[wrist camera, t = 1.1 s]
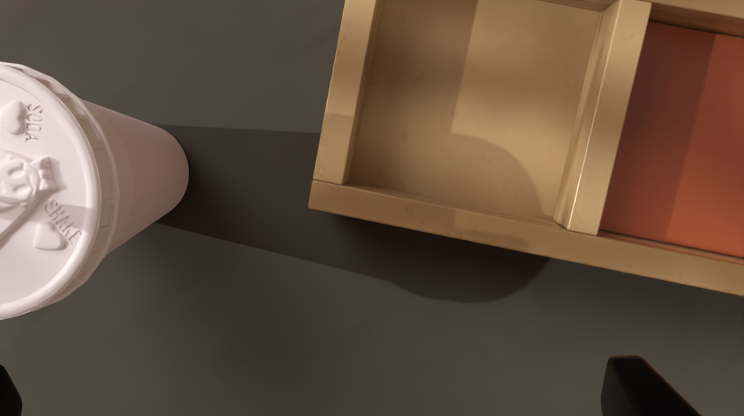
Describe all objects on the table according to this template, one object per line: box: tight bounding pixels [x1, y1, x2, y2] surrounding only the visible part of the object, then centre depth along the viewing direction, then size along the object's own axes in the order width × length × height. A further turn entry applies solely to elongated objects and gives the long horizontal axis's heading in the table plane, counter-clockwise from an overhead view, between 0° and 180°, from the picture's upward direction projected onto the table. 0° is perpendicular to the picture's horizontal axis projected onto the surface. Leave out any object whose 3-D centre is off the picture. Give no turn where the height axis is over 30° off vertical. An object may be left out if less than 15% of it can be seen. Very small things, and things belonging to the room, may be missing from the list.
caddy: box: [308, 0, 744, 297], centre depth 22 cm, size 10×18×3 cm, turn 79°
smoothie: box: [0, 62, 189, 319], centre depth 18 cm, size 6×6×14 cm
